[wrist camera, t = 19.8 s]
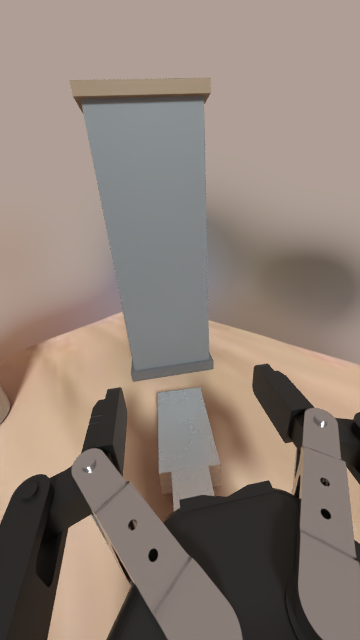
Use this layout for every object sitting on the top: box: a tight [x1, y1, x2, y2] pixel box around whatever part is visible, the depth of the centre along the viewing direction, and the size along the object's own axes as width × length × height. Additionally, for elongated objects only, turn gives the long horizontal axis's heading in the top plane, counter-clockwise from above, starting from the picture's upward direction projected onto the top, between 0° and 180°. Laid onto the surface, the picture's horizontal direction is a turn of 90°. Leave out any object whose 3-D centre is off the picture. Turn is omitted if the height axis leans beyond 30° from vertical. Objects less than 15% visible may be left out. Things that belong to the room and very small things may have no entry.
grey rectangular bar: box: [158, 387, 221, 511], centre depth 18 cm, size 19×5×3 cm, turn 6°
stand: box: [70, 78, 213, 381], centre depth 32 cm, size 14×12×32 cm
